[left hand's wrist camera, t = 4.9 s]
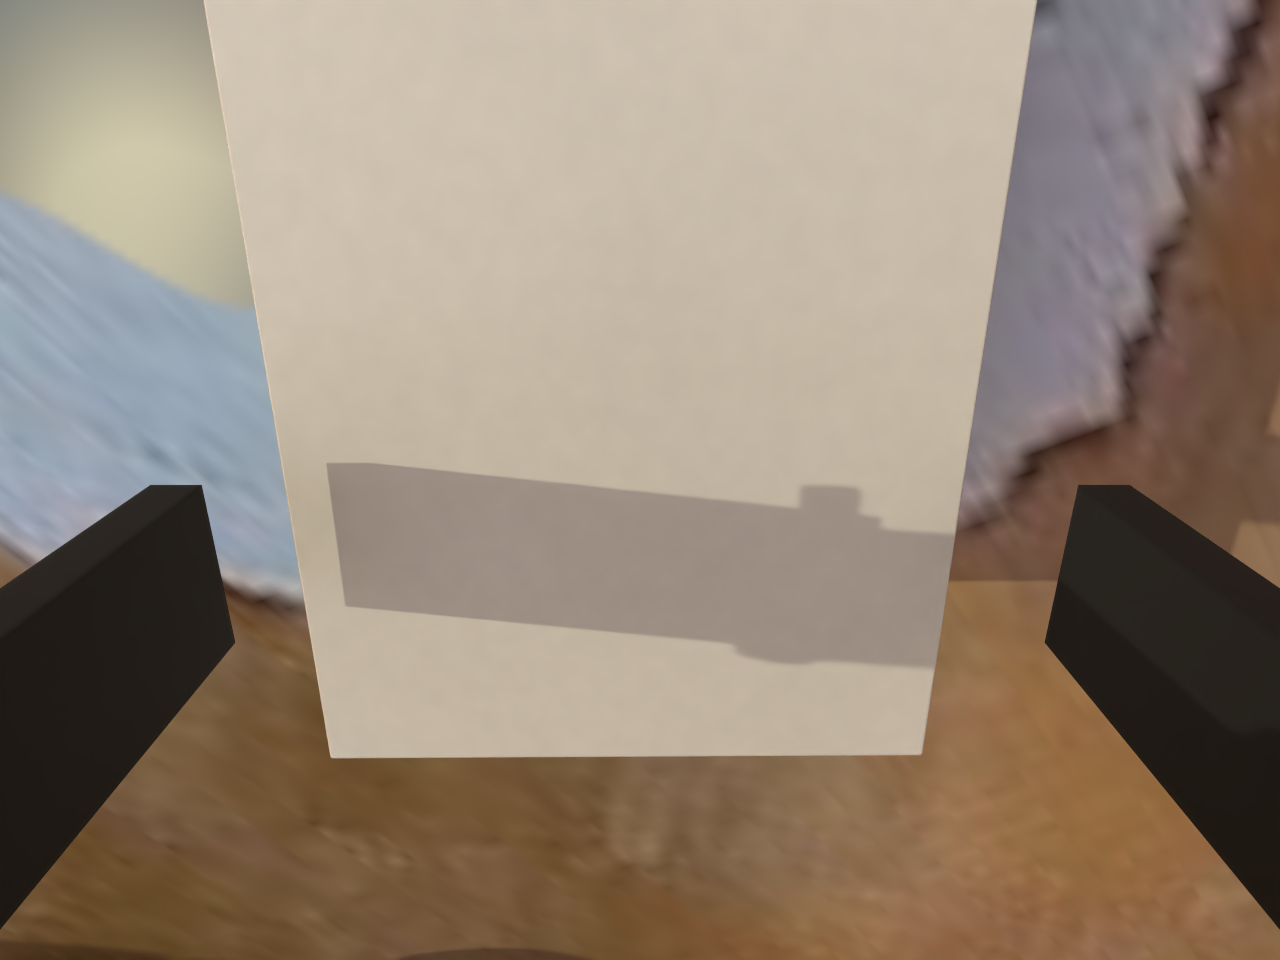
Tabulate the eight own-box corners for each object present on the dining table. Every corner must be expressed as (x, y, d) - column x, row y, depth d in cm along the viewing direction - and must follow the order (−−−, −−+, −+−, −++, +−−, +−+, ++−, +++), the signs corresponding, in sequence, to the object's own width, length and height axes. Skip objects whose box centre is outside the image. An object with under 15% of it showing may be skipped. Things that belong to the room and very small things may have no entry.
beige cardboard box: (361, -249, 18) (91, -651, 9) (888, -247, 18) (1137, -642, 9) (438, 544, 25) (329, 759, 16) (819, 542, 25) (922, 755, 16)
